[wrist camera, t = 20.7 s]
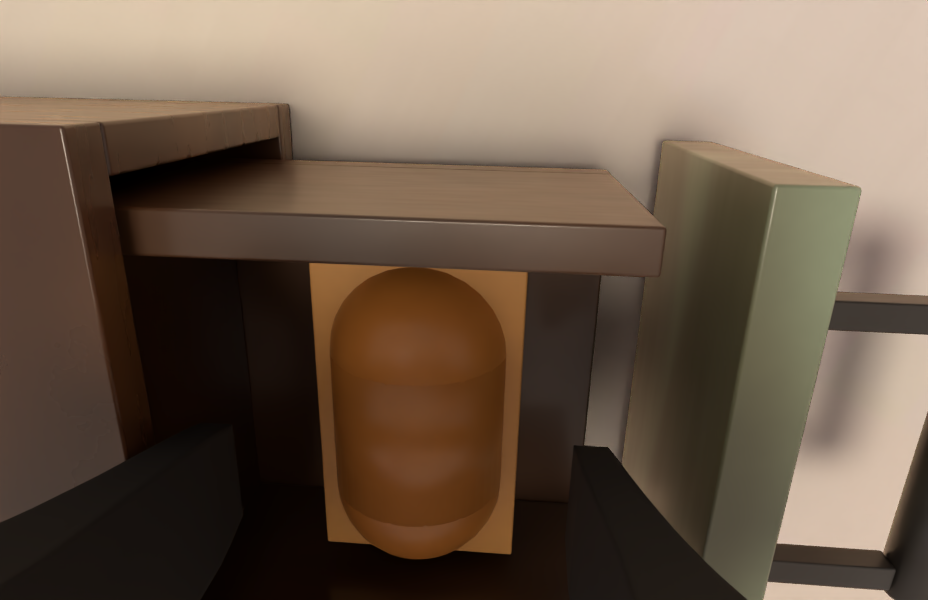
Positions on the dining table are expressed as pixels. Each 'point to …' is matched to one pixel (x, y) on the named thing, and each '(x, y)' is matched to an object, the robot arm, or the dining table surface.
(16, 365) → the cabinet
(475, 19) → the dining table surface
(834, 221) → the drawer
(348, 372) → the capsule-topped tan block
